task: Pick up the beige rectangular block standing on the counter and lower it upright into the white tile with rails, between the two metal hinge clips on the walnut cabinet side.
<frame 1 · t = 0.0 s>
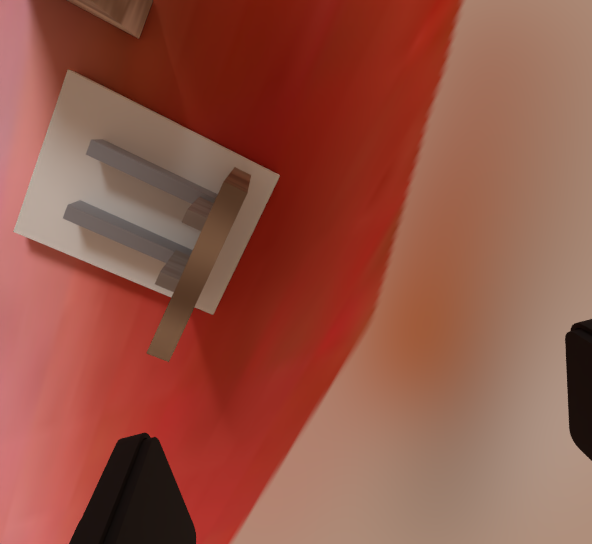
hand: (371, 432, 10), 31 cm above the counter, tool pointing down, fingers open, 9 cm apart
white tile with rails: (151, 201, 38), on the counter
cabinet side: (196, 247, 32), point 8 cm above the counter
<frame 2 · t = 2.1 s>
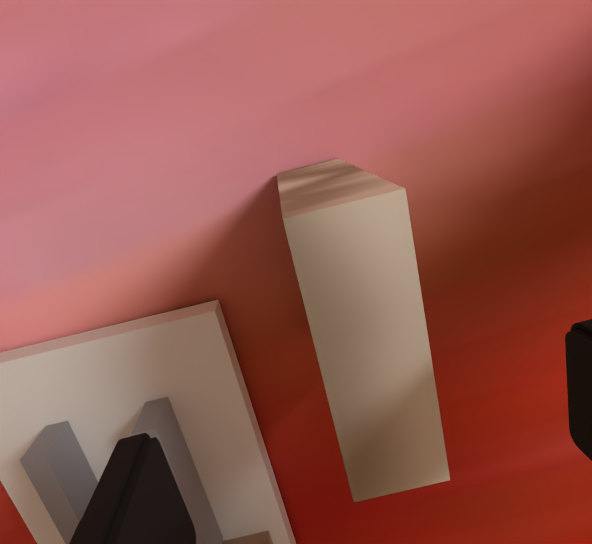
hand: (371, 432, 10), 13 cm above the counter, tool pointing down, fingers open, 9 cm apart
white tile with rails: (147, 465, 26), on the counter
beige rectangular block: (326, 253, 22), on the counter
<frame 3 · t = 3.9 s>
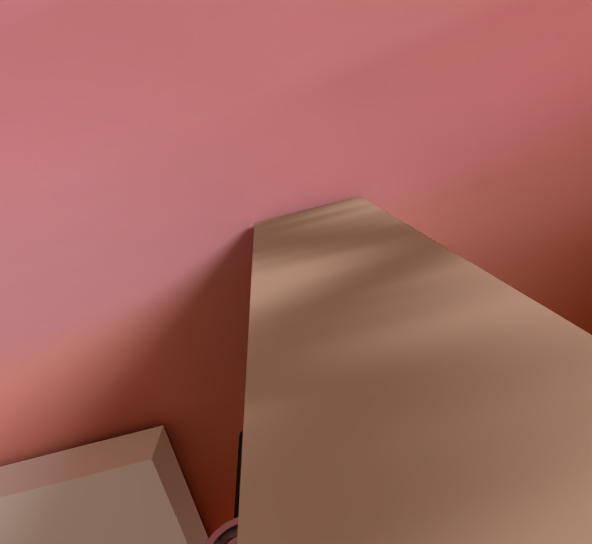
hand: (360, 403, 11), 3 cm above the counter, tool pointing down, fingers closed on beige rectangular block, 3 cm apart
beige rectangular block: (340, 351, 13), on the counter, touching gripper
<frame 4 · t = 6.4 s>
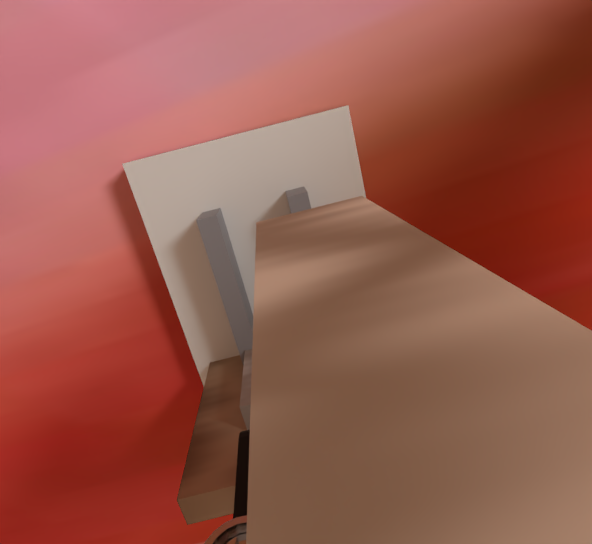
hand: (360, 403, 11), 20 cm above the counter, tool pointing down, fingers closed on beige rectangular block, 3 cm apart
white tile with rails: (272, 265, 30), on the counter
cabinet side: (298, 390, 25), point 8 cm above the counter
beige rectangular block: (341, 350, 13), point 17 cm above the counter, touching gripper
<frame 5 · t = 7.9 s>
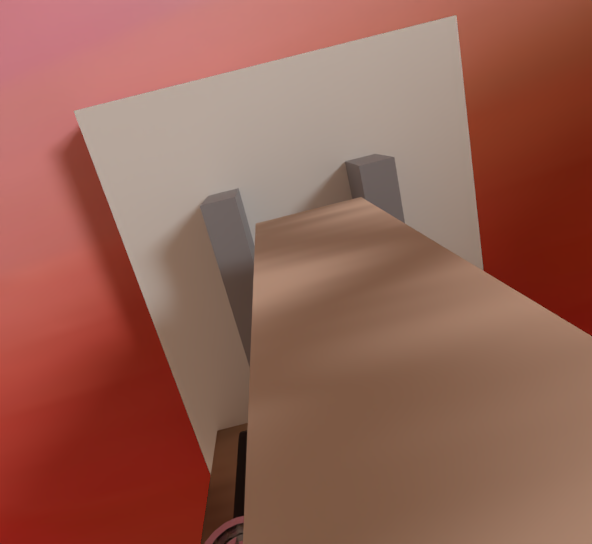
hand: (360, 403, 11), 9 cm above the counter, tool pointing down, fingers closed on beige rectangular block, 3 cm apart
white tile with rails: (315, 281, 20), on the counter
cabinet side: (378, 504, 14), point 8 cm above the counter
beige rectangular block: (340, 351, 13), point 7 cm above the counter, touching gripper
when the fingers open (5 cm above the counter, at t = 9.1 s): beige rectangular block stays where it is, resting on white tile with rails.
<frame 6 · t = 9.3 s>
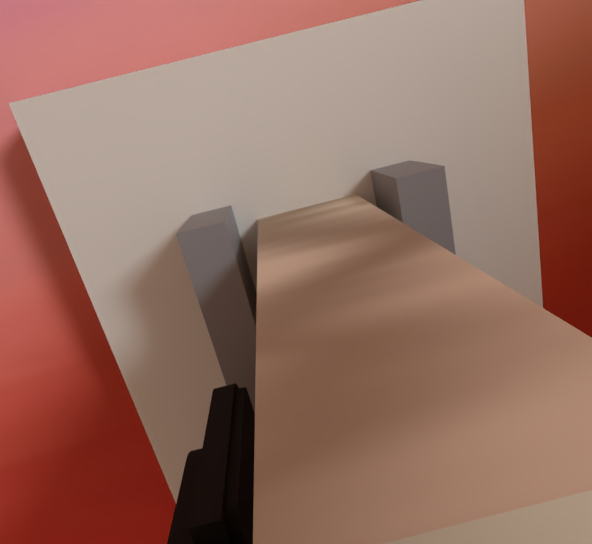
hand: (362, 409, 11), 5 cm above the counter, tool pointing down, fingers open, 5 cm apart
white tile with rails: (328, 319, 16), on the counter
beige rectangular block: (337, 339, 14), point 1 cm above the counter, touching white tile with rails
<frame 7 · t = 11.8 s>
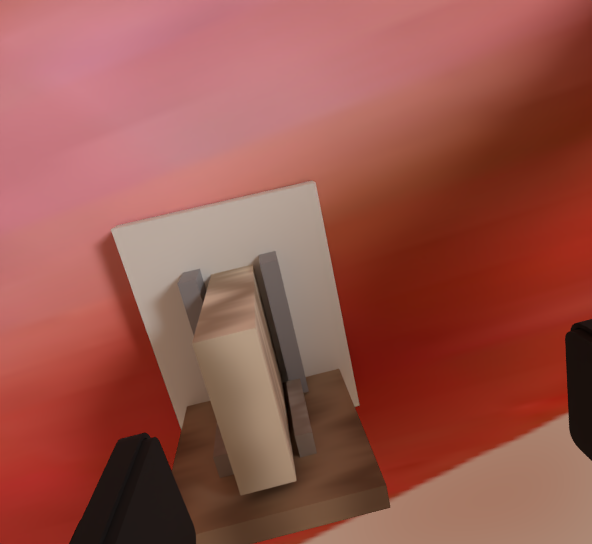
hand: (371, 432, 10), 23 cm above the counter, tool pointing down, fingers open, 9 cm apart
white tile with rails: (246, 317, 33), on the counter
cabinet side: (266, 437, 28), point 8 cm above the counter
beige rectangular block: (247, 326, 32), point 1 cm above the counter, touching white tile with rails
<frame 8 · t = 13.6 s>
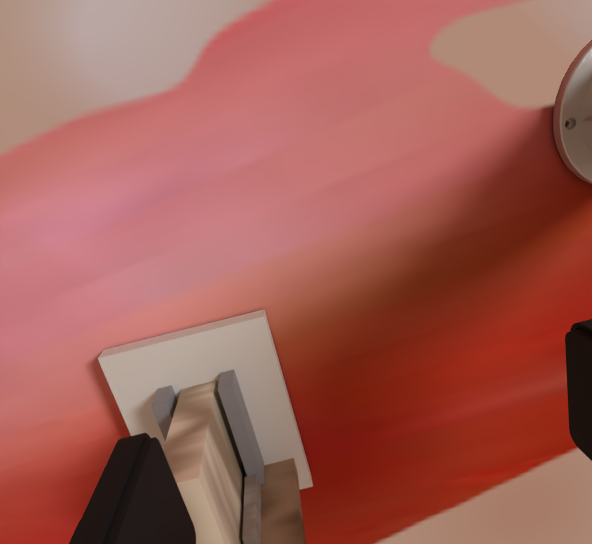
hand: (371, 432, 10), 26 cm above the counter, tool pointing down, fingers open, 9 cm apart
white tile with rails: (214, 416, 40), on the counter
cabinet side: (225, 530, 34), point 8 cm above the counter
beige rectangular block: (214, 427, 38), point 1 cm above the counter, touching white tile with rails
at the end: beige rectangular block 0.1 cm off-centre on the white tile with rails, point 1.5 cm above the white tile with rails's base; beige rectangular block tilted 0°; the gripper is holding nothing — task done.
